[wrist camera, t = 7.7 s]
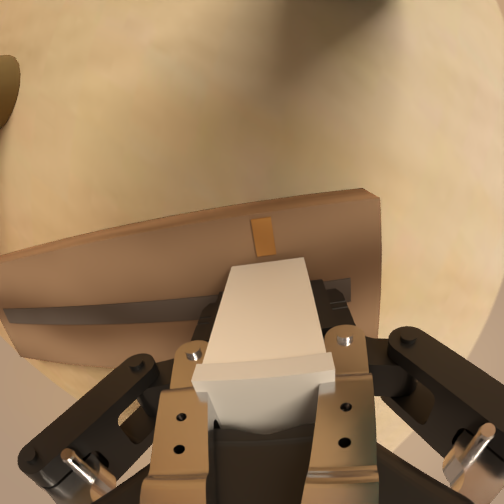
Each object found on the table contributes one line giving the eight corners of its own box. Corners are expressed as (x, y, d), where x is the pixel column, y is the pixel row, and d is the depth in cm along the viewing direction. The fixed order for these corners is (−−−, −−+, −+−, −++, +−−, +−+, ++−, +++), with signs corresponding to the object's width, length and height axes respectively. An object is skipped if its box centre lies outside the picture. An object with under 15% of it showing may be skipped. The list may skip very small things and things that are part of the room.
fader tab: (228, 264, 12) (191, 380, 6) (305, 254, 12) (335, 369, 6) (246, 343, 14) (230, 463, 8) (312, 336, 13) (330, 456, 7)
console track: (-2, 256, 16) (-23, 269, 14) (362, 188, 13) (380, 198, 11) (35, 340, 19) (20, 357, 17) (365, 323, 16) (376, 350, 14)
